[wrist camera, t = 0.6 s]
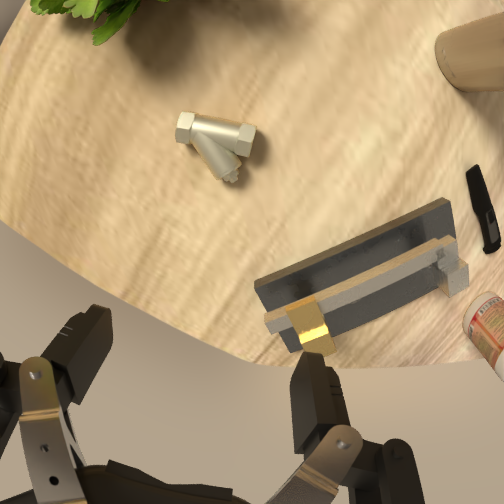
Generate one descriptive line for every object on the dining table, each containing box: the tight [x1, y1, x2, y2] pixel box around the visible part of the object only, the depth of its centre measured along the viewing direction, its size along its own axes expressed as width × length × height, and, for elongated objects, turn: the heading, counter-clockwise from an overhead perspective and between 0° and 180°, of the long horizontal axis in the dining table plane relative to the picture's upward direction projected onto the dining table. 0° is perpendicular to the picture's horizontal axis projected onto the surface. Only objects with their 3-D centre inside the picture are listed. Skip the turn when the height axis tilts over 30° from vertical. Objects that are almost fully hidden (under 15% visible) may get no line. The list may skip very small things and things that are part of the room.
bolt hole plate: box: [254, 197, 456, 353], centre depth 36 cm, size 28×12×2 cm, turn 116°
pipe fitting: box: [175, 111, 257, 183], centre depth 30 cm, size 8×4×7 cm
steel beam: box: [264, 235, 469, 334], centre depth 32 cm, size 24×6×7 cm, turn 116°
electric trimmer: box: [466, 164, 501, 254], centre depth 32 cm, size 4×16×3 cm, turn 36°
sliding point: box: [285, 295, 337, 357], centre depth 33 cm, size 3×7×7 cm, turn 26°
